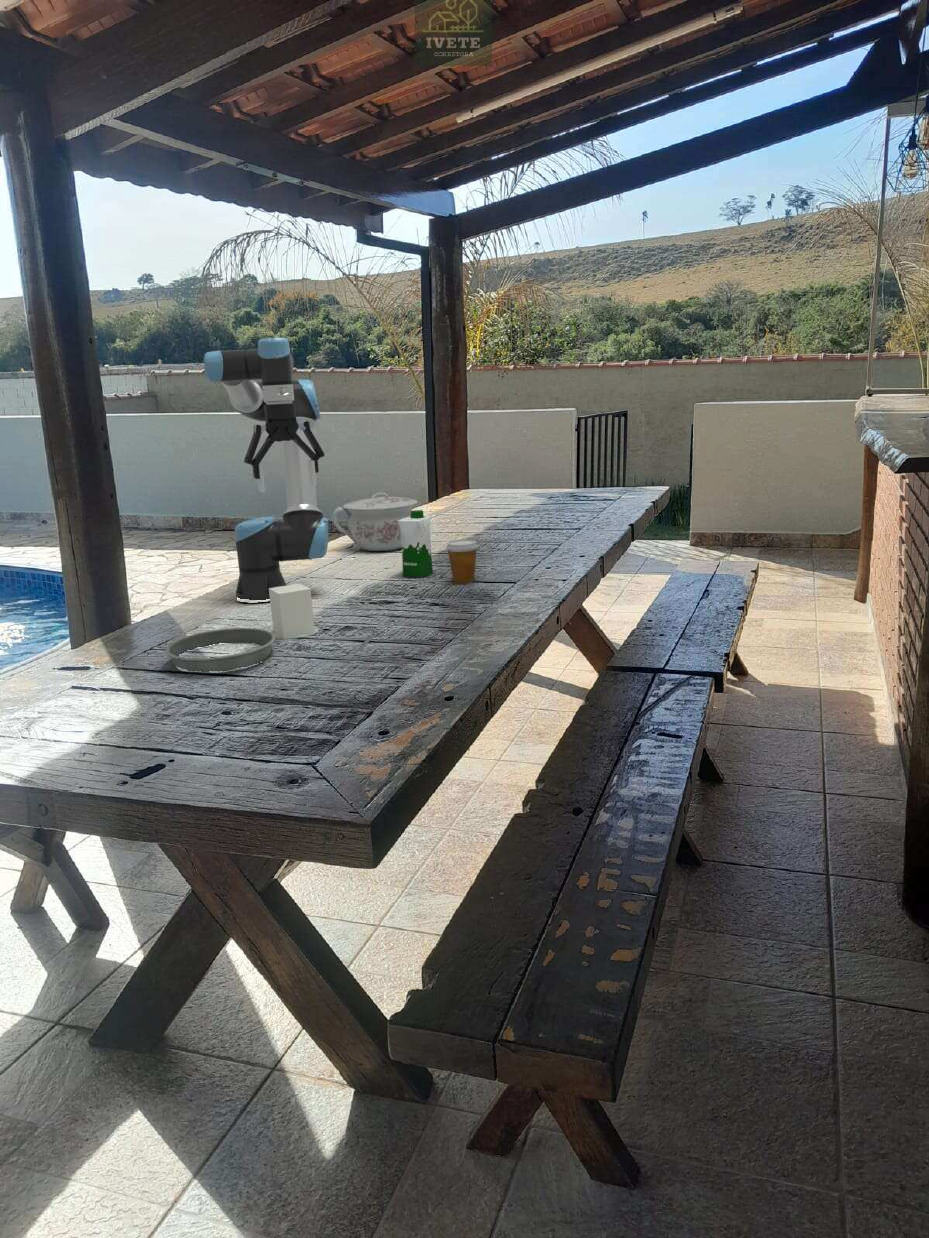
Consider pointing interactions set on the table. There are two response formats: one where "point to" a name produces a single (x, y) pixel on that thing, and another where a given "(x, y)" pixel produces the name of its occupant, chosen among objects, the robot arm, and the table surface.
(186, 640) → the hoop
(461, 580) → the disposable coffee cup
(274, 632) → the plate
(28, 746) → the table surface
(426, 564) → the milk carton
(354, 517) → the chamber pot
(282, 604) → the white upright block
